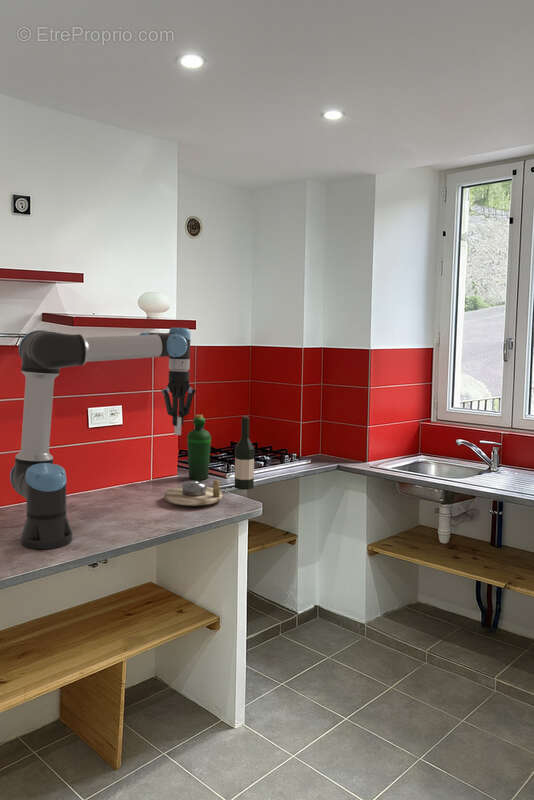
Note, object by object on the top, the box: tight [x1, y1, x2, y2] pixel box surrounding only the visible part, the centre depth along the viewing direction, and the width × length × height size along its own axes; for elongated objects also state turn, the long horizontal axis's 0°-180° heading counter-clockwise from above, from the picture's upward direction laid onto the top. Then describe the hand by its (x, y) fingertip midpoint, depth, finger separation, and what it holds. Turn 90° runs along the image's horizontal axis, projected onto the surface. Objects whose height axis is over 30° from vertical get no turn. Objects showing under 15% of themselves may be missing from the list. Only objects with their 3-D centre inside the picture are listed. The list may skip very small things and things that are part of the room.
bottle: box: [186, 414, 212, 481], centre depth 285 cm, size 11×11×28 cm
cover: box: [181, 480, 207, 497], centre depth 250 cm, size 9×9×5 cm
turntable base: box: [175, 503, 214, 508], centre depth 251 cm, size 16×16×1 cm
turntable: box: [164, 479, 223, 506], centre depth 250 cm, size 22×22×8 cm
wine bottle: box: [234, 415, 255, 491], centre depth 272 cm, size 8×8×30 cm
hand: (177, 434), depth 241 cm, fingers closed
